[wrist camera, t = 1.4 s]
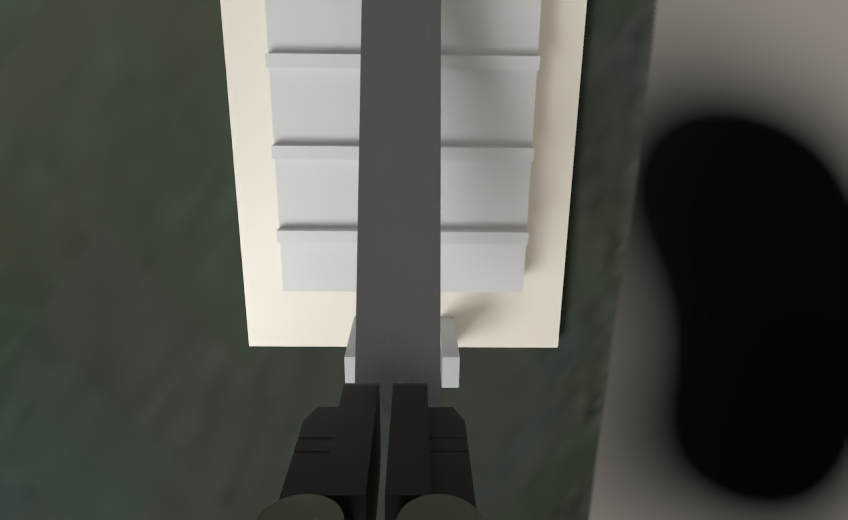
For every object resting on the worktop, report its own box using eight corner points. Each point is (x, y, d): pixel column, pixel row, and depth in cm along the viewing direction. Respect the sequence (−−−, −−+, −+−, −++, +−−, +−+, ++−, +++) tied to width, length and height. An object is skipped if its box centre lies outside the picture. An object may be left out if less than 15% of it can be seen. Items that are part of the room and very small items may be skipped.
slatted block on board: (218, -102, 29) (170, -140, 23) (589, -97, 29) (630, -133, 23) (253, 338, 35) (223, 390, 30) (554, 339, 36) (579, 391, 30)
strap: (365, -102, 25) (363, -123, 24) (440, -101, 25) (441, -122, 24) (357, 419, 23) (353, 424, 22) (439, 419, 23) (440, 424, 22)
